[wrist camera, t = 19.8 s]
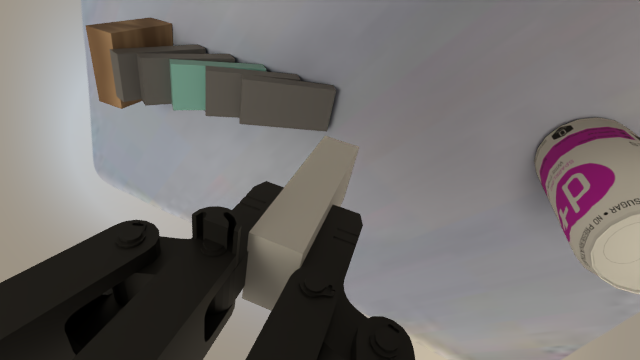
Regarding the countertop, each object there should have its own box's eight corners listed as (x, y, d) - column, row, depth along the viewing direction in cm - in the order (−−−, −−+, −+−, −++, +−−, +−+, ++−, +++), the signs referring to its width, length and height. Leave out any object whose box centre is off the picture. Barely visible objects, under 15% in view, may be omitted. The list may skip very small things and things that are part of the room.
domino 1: (205, 48, 40) (117, 54, 33) (205, 88, 43) (123, 102, 36) (197, 44, 41) (109, 49, 34) (197, 84, 43) (116, 96, 36)
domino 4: (300, 79, 37) (205, 70, 34) (293, 120, 40) (205, 115, 37) (297, 74, 39) (205, 65, 35) (290, 114, 41) (205, 109, 38)
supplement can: (516, 171, 36) (552, 269, 24) (567, 102, 32) (645, 178, 19) (592, 201, 35) (669, 318, 23) (656, 134, 31) (797, 236, 18)
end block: (171, 23, 40) (110, 33, 33) (175, 87, 45) (121, 108, 37) (150, 17, 41) (85, 25, 33) (155, 81, 45) (99, 100, 38)
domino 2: (234, 58, 39) (140, 58, 33) (232, 99, 42) (145, 105, 36) (229, 54, 40) (136, 53, 34) (227, 94, 43) (141, 99, 37)
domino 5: (336, 90, 37) (242, 79, 34) (326, 131, 39) (239, 123, 37) (332, 85, 38) (242, 73, 35) (324, 125, 41) (239, 117, 38)
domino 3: (266, 69, 38) (170, 63, 34) (262, 109, 41) (173, 110, 36) (262, 64, 39) (169, 58, 35) (258, 104, 42) (171, 104, 38)
